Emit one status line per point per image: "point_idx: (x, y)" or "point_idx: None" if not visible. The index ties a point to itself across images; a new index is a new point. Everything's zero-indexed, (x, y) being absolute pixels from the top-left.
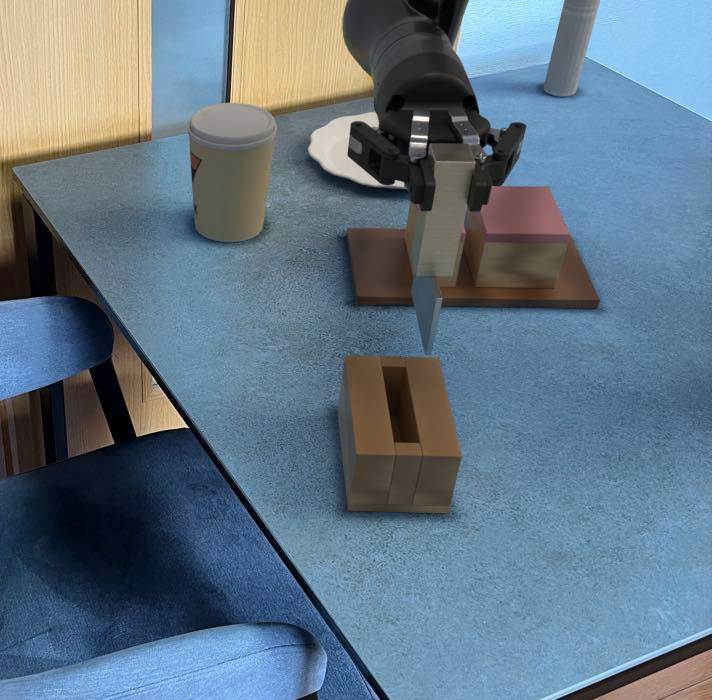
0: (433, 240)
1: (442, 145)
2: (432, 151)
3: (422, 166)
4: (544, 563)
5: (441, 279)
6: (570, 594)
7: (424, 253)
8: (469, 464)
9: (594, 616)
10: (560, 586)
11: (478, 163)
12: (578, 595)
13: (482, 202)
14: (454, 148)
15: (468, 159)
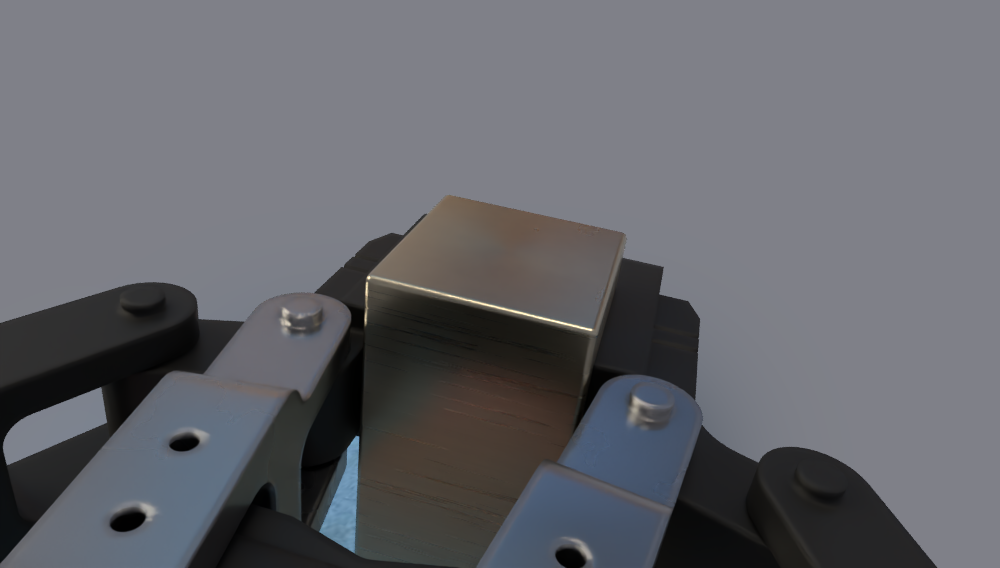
0: None
1: (530, 298)
2: (609, 282)
3: (647, 333)
4: (349, 535)
5: None
6: (353, 485)
7: None
8: None
9: (348, 454)
10: (356, 498)
11: (358, 283)
12: (343, 481)
13: None
14: (480, 265)
15: (465, 208)
